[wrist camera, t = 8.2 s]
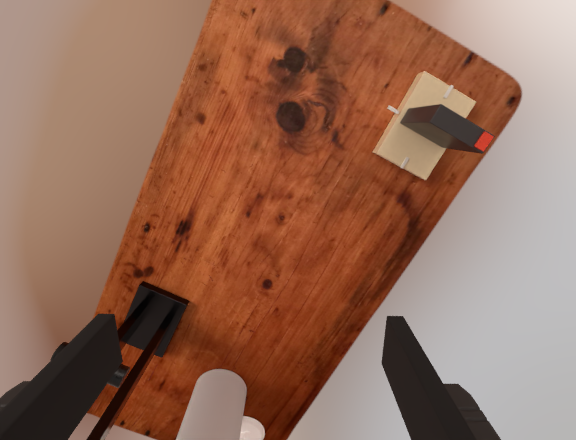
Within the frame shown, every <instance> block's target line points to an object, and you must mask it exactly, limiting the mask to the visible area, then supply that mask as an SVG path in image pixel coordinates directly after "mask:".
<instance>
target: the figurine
mask: <svg viewBox="0 0 576 440" xmlns="http://www.w3.org/2000/svg"><path fill="white" fill-rule="evenodd" d="M264 436H265V430H264V427H263V425H262V424H261V423H260V422H259V421H257V420H256V419H254V418H251V417H247V416H243V419H242V426H241V432H240V439H239V440H263V439H264Z"/></svg>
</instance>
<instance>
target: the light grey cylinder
mask: <svg viewBox="0 0 576 440" xmlns="http://www.w3.org/2000/svg"><path fill="white" fill-rule="evenodd" d="M246 394H247V388H246V384H245V382H244V381H243V379H242V378H241V377H240V376H239V375H237V374H236V373H234V372H232V371H229V370H225V369H214V370H210V371H207V372H205V373H204V374H202V375H201V376H200V377H199V379H198V380H197V382H196V385H195V388H194V391H193V394H192V396H191V399H190V402H189V405H188V408H187V410H186V413H185V416H184V419H183V422H182V424H181V427H180V430H179V433H178V436H177V438H176V440H239V439H240V432H241V426H242V419H243V413H244V407H245V400H246Z"/></svg>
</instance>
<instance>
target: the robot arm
mask: <svg viewBox="0 0 576 440" xmlns="http://www.w3.org/2000/svg"><path fill="white" fill-rule="evenodd" d="M122 362H123V360H122V355H121V349H120V343H119V338H118V332H117V327H116V321H115V315H114V314H98V315H97V316H96V317H95V318H94V319H93V320H92V321H91V322H90V323H89V324H88V325H87V326H86V327H85V328H84V329H83V330H82V331H81V332H80V333H79V334H78V335H77V336H76V337H75V338H74V339H73V340H72V341H71V342H70V343H69V344H68V345H67V346H66V347H65V348H64V349H62V350H61V351H60V352H59V353H58V354H57V355H56V356H55V357H54V358H53V359H52V360H51V361H50V362H49V363H48V364H47V365H46V366H45V367H44V368H43V369H42V370H41V371H40V372H39V373H38V375H36V376H35V377H34V378H33V379H32V380H31V381H23V382H22V383H20V384H18V385H17V386H15V387H14V388H12V389H11V390H9V391H8V392H6V393H5V394H4V395H3V396H2V397H1V398H0V440H68V438H69V437H70V435H71V434H72V432H73V431H74V430H75V428H76V427H77V426H78V424H79V423H80V421H81V420H82V418H83V417H84V416H85V414H86V413H87V411H88V410H89V409H90V407H91V406H92V404H93V403H94V401H95V400H96V399H97V397H98V396H99V394H100V393H101V391H102V390H103V389H104V387H105V386H106V384H107V383H108V381H109V380H110V379H111V377H112V376H113V374H114V373H115V372H116V370H117V369H118V367H119V366H120V364H121V363H122ZM382 365H383V368H384V371H385V373H386V376H387V378H388V381H389V383H390V386H391V389H392V391H393V394H394V396H395V399H396V402H397V404H398V407H399V409H400V412H401V414H402V417H403V419H404V422H405V425H406V427H407V430H408V432H409V435H410V437H411V440H501V439H500V437H499V436H498V434H497V433H496V432H495V430H494V429H493V427H492V426H491V424H490V423H489V422H488V421H487V418H486V417H485V415H484V414H483V412H482V411H481V410H480V408H479V407H478V405H477V403H476V402H475V400H474V399H473V397H472V396H471V395H470V394H469V393H468V392H467V391H466V390H464V389H463V388H462V387H461V386H460V385H459V384H443V383H442V381H441V379H440V378H439V376H438V375H437V373H436V371H435V369H434V368H433V366H432V364H431V363H430V361H429V359H428V358H427V356H426V354H425V353H424V351H423V350H422V347H421V346H420V344H419V342H418V341H417V339H416V338H415V336H414V334H413V332H412V331H411V329H410V327H409V326H408V324H407V322H406V321H405V319H404V317H403V316H387V321H386V330H385V339H384V347H383V357H382Z"/></svg>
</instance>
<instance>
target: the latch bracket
mask: <svg viewBox="0 0 576 440" xmlns="http://www.w3.org/2000/svg"><path fill="white" fill-rule="evenodd" d="M188 303H189V301H188V300H186V299H183V298H181V297H179V296H177V295H174V294H172V293H170V292H167V291H165V290H163V289H160V288H158V287H156V286H153V285H151V284H149V283H146V282H144V281H143V282H142V283H141V284H140V285H139V288H138V290H137V292H136V295H135V297H134V300H133V302H132V304H131V307H130V309H129V312H128V314H127V316H126V319H125V321H124V323H123V324H122V326H121V327H120V328H119V329H118V330H117V332H118V338H119V343H120V349H121V350H122V349H123V347H124V346H125V345H126V343H127V344H129V345H132V346H134V347H137V348H139V349H142V350H144V351H143V353H142V354H141V356H140V357H139V359H138V360H137V362H136V364H135V365H134V367H133V368H132V370H131V371H130V373H129V374H128V376H127V378H126V379H125V381H124V382H123V384H122V385H121V387H120V388H119V390H118V392H117V393H116V395H115V396H114V398H113V399H112V401H111V402H110V404H109V406H108V407H107V409H106V410H105V412H104V413H103V415H102V416H101V418H100V420H99V421H98V423H97V424H96V426H95V427H94V429H93V430H92V432H91V434H90V435H89V437H88V438H87V440H105V438H106V436H107V435H108V433H109V431H110V429H111V428H112V426H113V424H114V423H115V421H116V419H117V418H118V416H119V414H120V412H121V411H122V409H123V407H124V406H125V404H126V402H127V400H128V399H129V397H130V395H131V394H132V392H133V390H134V389H135V387H136V385H137V383H138V382H139V380H140V378H141V377H142V375H143V373H144V371H145V370H146V368H147V366H148V365H149V363H150V361H151V359H152V358H153V356H154V355H156V356H159V357H163V355H164V353H165V351H166V349H167V347H168V345H169V343H170V341H171V339H172V337H173V334H174V332H175V330H176V328H177V326H178V324H179V322H180V320H181V318H182V316H183V314H184V311H185V309H186V307H187V305H188Z"/></svg>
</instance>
